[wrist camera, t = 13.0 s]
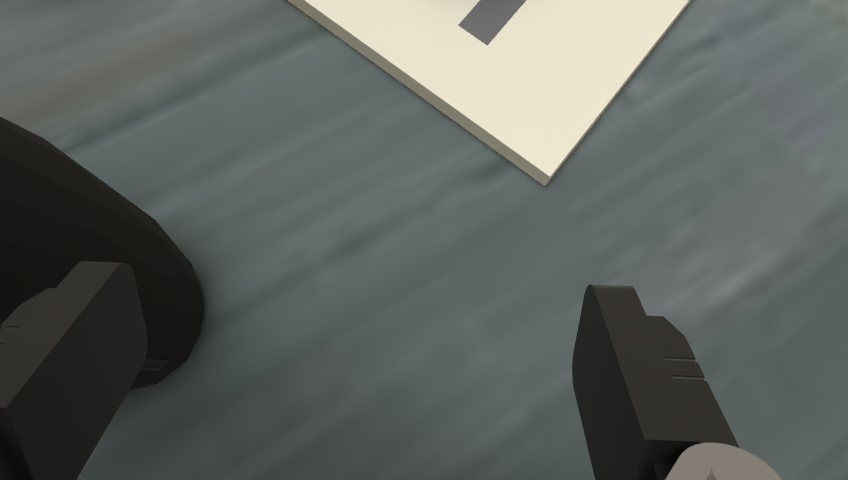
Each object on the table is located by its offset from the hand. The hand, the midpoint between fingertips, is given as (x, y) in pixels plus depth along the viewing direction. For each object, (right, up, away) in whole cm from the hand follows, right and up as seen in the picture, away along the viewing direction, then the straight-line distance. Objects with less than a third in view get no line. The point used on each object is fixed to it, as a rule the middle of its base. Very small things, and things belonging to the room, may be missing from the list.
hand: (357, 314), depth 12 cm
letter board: (+4, +16, +27) cm, 31 cm away
